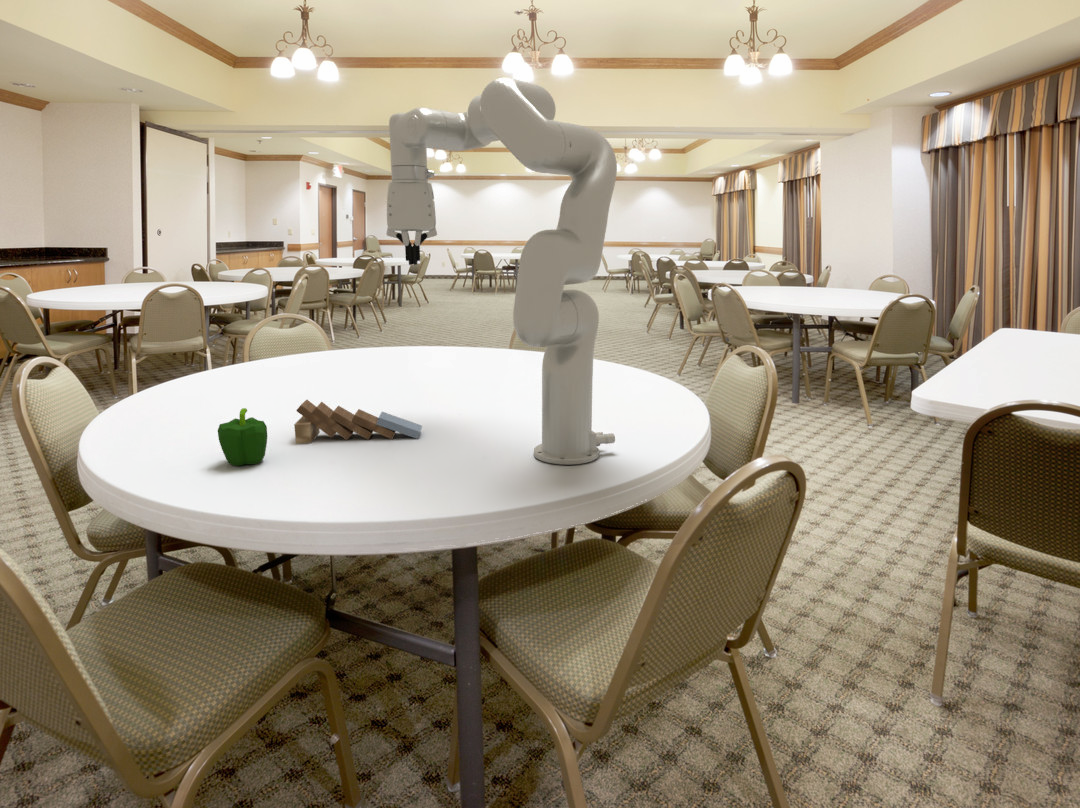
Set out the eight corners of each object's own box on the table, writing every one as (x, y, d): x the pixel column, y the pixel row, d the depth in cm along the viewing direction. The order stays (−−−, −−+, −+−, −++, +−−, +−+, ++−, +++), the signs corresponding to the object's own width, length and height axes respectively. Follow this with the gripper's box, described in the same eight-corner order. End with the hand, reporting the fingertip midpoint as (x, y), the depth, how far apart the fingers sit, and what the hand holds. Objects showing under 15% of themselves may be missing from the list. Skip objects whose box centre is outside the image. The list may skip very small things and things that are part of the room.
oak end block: (319, 432, 152) (318, 414, 152) (310, 443, 145) (309, 424, 144) (305, 432, 152) (303, 414, 151) (295, 443, 144) (294, 424, 144)
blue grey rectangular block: (422, 425, 152) (382, 411, 151) (420, 432, 148) (378, 417, 146) (419, 432, 153) (379, 418, 151) (417, 439, 148) (376, 424, 146)
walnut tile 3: (355, 428, 151) (321, 401, 149) (351, 434, 147) (316, 407, 145) (351, 433, 152) (317, 407, 150) (346, 440, 147) (311, 412, 145)
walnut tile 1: (397, 426, 152) (358, 408, 150) (395, 432, 147) (354, 414, 146) (394, 432, 152) (355, 415, 151) (391, 439, 147) (351, 421, 146)
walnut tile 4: (341, 425, 151) (306, 399, 149) (336, 432, 146) (300, 404, 144) (336, 431, 151) (302, 404, 149) (331, 438, 146) (296, 410, 144)
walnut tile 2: (375, 427, 152) (338, 405, 150) (372, 433, 147) (333, 411, 145) (371, 433, 152) (334, 411, 150) (368, 439, 147) (329, 417, 145)
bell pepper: (253, 471, 128) (248, 417, 125) (212, 468, 129) (206, 415, 127) (279, 457, 136) (274, 406, 133) (240, 454, 137) (235, 404, 135)
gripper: (446, 177, 154) (448, 263, 159) (376, 177, 153) (380, 263, 157) (444, 175, 147) (446, 265, 151) (371, 174, 146) (375, 265, 150)
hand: (413, 264), depth 154 cm, fingers closed
